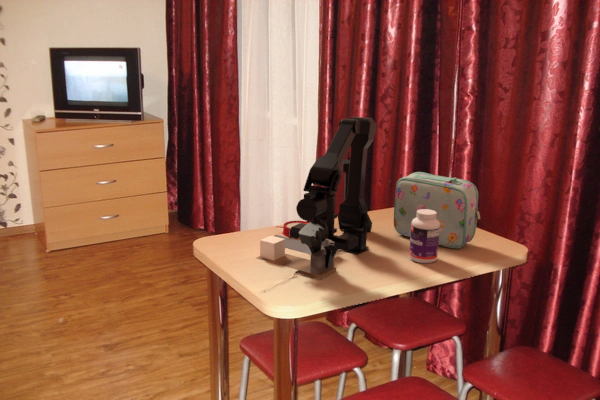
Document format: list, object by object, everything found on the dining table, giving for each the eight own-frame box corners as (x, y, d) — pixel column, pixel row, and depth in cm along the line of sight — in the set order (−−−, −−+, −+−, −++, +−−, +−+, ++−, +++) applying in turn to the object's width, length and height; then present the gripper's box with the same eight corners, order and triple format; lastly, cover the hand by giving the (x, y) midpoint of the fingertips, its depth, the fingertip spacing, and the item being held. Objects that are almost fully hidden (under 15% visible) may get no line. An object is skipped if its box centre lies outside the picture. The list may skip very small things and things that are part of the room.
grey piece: (335, 252, 187) (335, 233, 185) (320, 260, 181) (320, 240, 179) (276, 237, 199) (276, 219, 198) (260, 244, 193) (260, 225, 191)
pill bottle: (403, 256, 185) (406, 209, 181) (426, 253, 188) (430, 206, 184) (419, 266, 178) (422, 216, 174) (442, 262, 181) (446, 214, 177)
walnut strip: (336, 270, 173) (336, 249, 172) (320, 279, 167) (320, 258, 165) (272, 253, 185) (272, 234, 184) (255, 261, 179) (255, 241, 178)
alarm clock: (273, 223, 203) (315, 209, 207) (277, 241, 205) (319, 226, 209) (284, 233, 193) (328, 218, 198) (288, 251, 195) (332, 236, 200)
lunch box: (481, 246, 195) (487, 178, 189) (466, 254, 188) (472, 184, 182) (406, 227, 212) (410, 165, 206) (389, 235, 204) (393, 170, 198)
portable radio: (359, 232, 206) (362, 156, 200) (341, 231, 206) (343, 156, 200) (357, 224, 214) (360, 152, 207) (340, 224, 214) (342, 151, 207)
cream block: (284, 255, 181) (284, 239, 180) (274, 260, 177) (274, 243, 176) (271, 251, 184) (271, 235, 182) (260, 256, 180) (260, 240, 178)
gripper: (277, 211, 165) (276, 267, 169) (337, 225, 155) (335, 284, 159) (301, 202, 174) (300, 255, 178) (360, 214, 164) (358, 271, 168)
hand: (322, 266), depth 171 cm, fingers closed on walnut strip, 3 cm apart
